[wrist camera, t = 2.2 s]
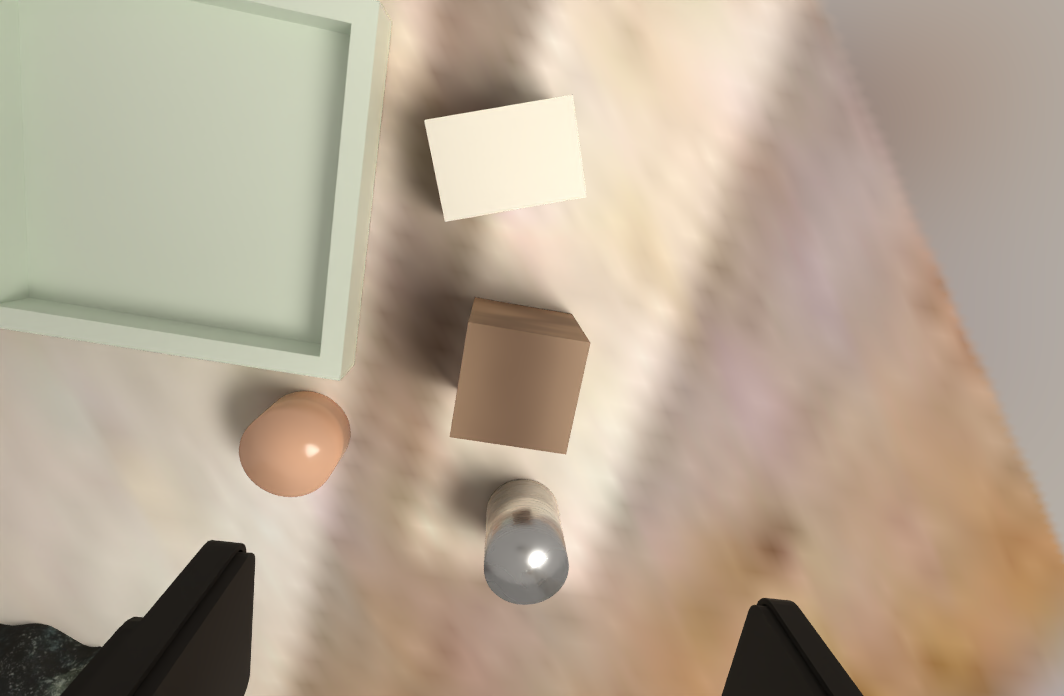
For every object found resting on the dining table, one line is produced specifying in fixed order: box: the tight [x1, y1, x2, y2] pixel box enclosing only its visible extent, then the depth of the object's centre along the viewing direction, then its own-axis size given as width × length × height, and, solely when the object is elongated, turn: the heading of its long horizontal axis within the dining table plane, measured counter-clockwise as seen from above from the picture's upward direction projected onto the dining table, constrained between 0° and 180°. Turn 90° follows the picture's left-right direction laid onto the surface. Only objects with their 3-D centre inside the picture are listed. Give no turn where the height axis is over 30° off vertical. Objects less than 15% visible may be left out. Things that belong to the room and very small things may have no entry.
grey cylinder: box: [484, 479, 569, 605], centre depth 29 cm, size 4×4×5 cm
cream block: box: [424, 94, 587, 222], centre depth 24 cm, size 6×4×4 cm, turn 100°
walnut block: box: [450, 297, 590, 454], centre depth 26 cm, size 5×5×6 cm
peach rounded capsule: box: [239, 391, 351, 497], centre depth 28 cm, size 4×4×3 cm
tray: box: [0, 0, 392, 381], centre depth 24 cm, size 16×16×3 cm
